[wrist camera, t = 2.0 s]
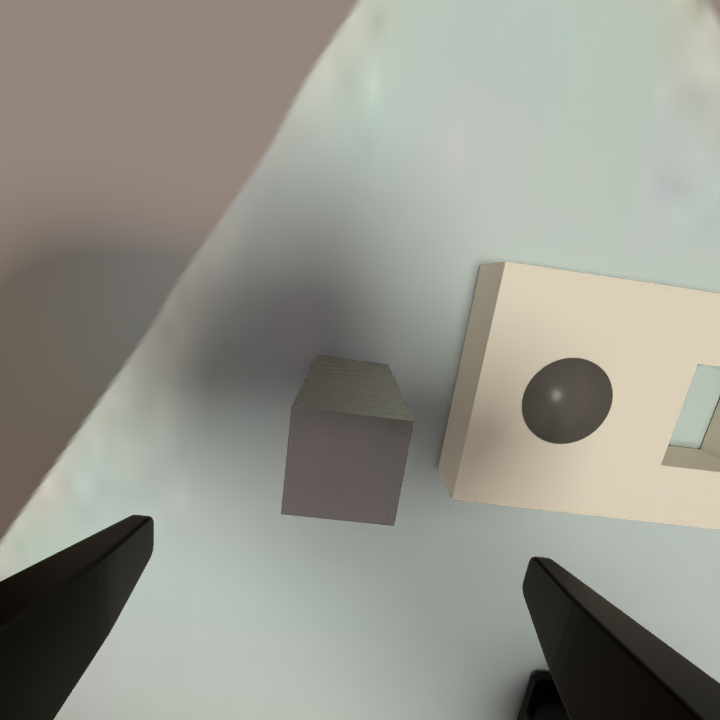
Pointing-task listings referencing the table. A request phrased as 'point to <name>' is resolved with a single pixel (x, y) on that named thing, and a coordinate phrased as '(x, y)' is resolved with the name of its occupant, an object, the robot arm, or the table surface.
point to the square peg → (347, 443)
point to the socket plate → (583, 397)
